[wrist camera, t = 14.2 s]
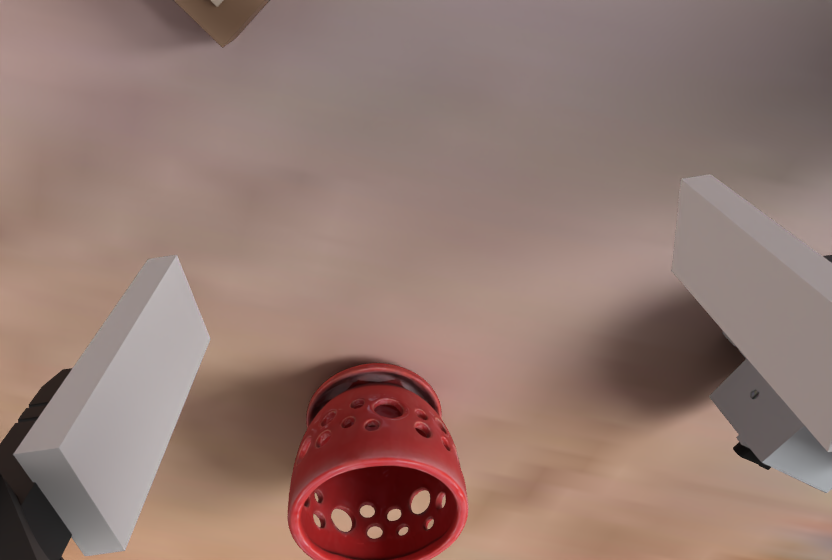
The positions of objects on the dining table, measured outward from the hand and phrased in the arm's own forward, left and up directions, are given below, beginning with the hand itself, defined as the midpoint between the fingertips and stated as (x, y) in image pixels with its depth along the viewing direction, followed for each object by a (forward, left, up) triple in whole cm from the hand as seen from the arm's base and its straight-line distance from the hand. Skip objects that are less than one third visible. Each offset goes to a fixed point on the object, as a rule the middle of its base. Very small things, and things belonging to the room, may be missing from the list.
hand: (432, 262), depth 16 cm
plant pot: (+20, +20, -27) cm, 39 cm away
